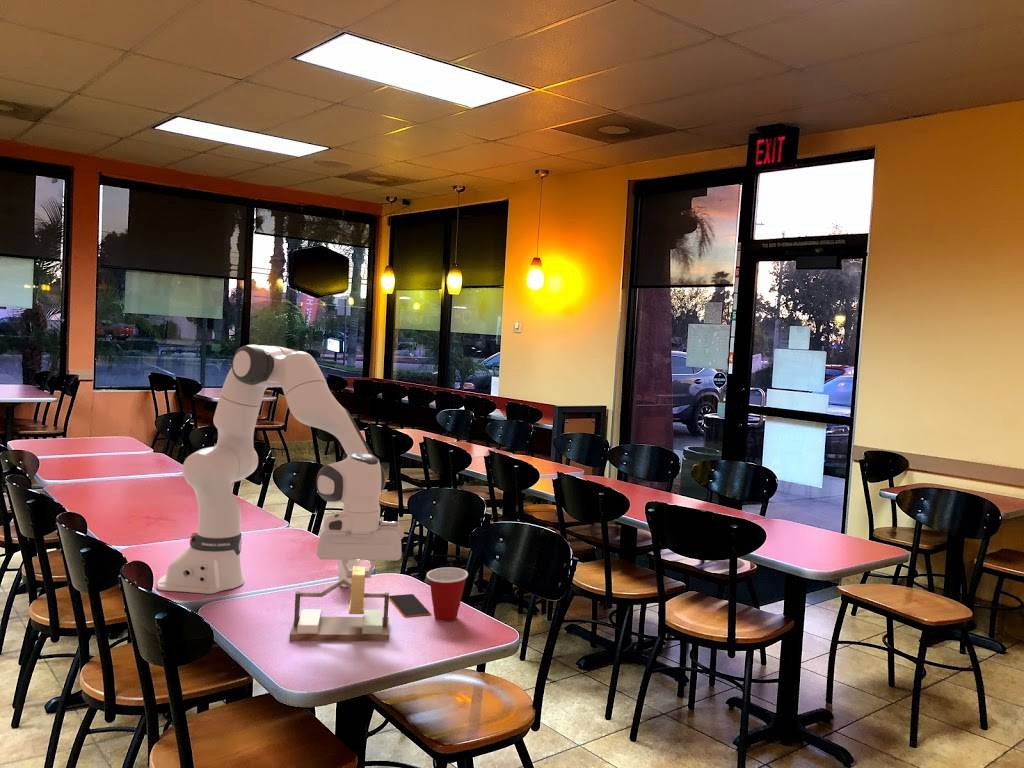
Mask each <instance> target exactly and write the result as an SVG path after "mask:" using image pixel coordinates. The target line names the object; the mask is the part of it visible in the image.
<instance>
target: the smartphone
mask: <svg viewBox="0 0 1024 768" xmlns="http://www.w3.org/2000/svg"><path fill="white" fill-rule="evenodd" d="M389 599H390V600H389V602H391V604H392V605H393V604H394V605H393V606H394V607H395V609H397V611H398V610H399V611H398V613H400V614H401V615H402V617H403V618H414V617H415V618H416V617H426V616H427V617H428V616H429V617H430V616H431V615H432V613H431V612H430V611H429V609H428V608H427V607H426V606H425V605H424V604H423V603H422V602H421V601H420V599H418V598H417V596H416V595H415V594H413V593H409V594H396V595H389Z"/></svg>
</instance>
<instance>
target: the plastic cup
mask: <svg viewBox="0 0 1024 768" xmlns="http://www.w3.org/2000/svg"><path fill="white" fill-rule="evenodd" d="M468 576H469V572H468V571H467V570H466V569H462V568H459V567H448V566H447V567H439V568H435V569H431V570H429V571H428V572H427V573H426V578H427V579H428V582H429V587H430V593H431V603H432V608H433V617H434V619H435V620H437V621H441V622H453V621H455V620H457V617H458V613H459V609H460V607H461V600H462V595H463V592H464V588H465V583H466V581H467V578H468Z"/></svg>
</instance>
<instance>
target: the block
mask: <svg viewBox="0 0 1024 768" xmlns="http://www.w3.org/2000/svg"><path fill="white" fill-rule="evenodd" d="M299 616H300V619H299V623H298V630H297V634H317V633H318V629H319V624H320V620H321V617H322V609H309V608H308V609H307V608H306V609H305V608H303V609H302V610H301V612H300V615H299Z"/></svg>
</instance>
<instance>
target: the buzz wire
mask: <svg viewBox="0 0 1024 768" xmlns="http://www.w3.org/2000/svg"><path fill="white" fill-rule="evenodd" d="M342 584H345V585H346V586H347V587H349V589H350V590H351V583H349V582H348V581H347V580H345V579H342V580H340V581H339V580H338V581H337V582H336V583H334V584H333V585H331V586H329V587H328V588H326V589H325V590H323V591H322V592H301V591H295V594H294V595H295V597H294V601H295V602H294V615H293V617H294V618H293V622H292V626H291V629H290V631H289V638H288V639H289V641H291V642H292V641H298V642H300V641H303V642H304V641H305V642H307V641H309V642H310V641H315V642H316V641H319V642H320V641H322V642H323V641H326V642H329V641H330V642H331V641H332V642H333V641H335V642H337V641H338V642H342V641H343V642H351V641H352V642H353V641H354V642H358V641H359V642H367V641H368V642H374V641H375V642H389V640H390V617H389V606H390V605H389V602H390V600H389V596H390V592H384V593H383V592H382V593H372V592H370V593H368V592H367V593H366V592H364V598H365V599H366V598H371V599H372V598H373V599H376V598H379V599H381V598H382V599H383V598H384V603H383V616H382V634H362V628H363V616H321V620H320V624H319V629H318V633H317V634H297V630H298V623H299V619H300V616H301V615H300V609H301V608H300V607H301V598H323V597H325V596H326V595H327V594H329V593H331V592H333V591H334V590H336V589H337V588H339V587H341V586H340V585H342Z"/></svg>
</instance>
